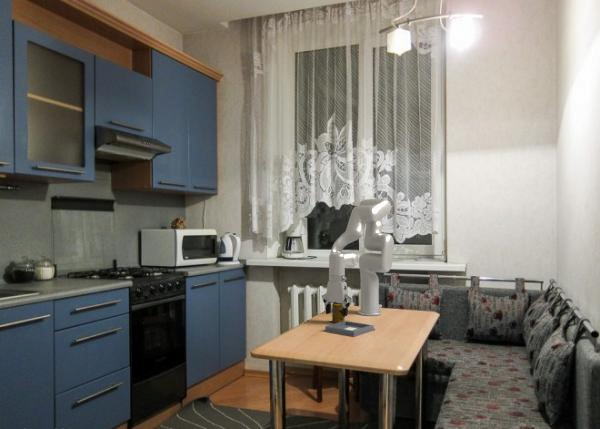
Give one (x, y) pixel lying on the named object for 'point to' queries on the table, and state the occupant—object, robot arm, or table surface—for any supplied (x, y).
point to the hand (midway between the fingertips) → (336, 314)
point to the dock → (349, 328)
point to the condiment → (337, 313)
